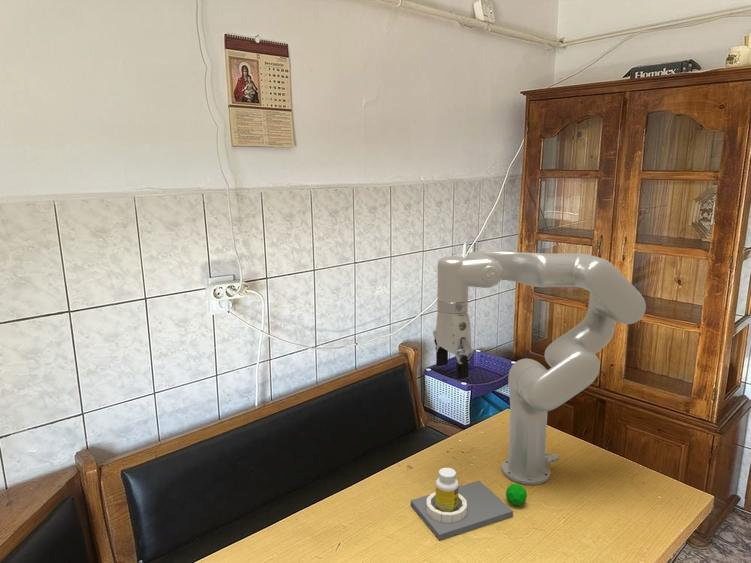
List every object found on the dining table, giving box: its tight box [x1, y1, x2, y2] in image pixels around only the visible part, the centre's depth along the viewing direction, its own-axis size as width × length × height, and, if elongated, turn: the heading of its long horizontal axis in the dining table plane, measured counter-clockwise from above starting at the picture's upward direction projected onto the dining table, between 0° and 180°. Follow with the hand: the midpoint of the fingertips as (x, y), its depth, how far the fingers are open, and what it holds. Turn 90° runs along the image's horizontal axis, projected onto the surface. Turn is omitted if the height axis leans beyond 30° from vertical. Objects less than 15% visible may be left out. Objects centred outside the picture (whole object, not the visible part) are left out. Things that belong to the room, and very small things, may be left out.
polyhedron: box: [505, 483, 528, 506], centre depth 131 cm, size 5×5×5 cm
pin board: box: [410, 480, 514, 542], centre depth 129 cm, size 20×14×4 cm
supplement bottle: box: [435, 467, 460, 512], centre depth 126 cm, size 5×5×10 cm
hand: (451, 371), depth 136 cm, fingers open, 9 cm apart
